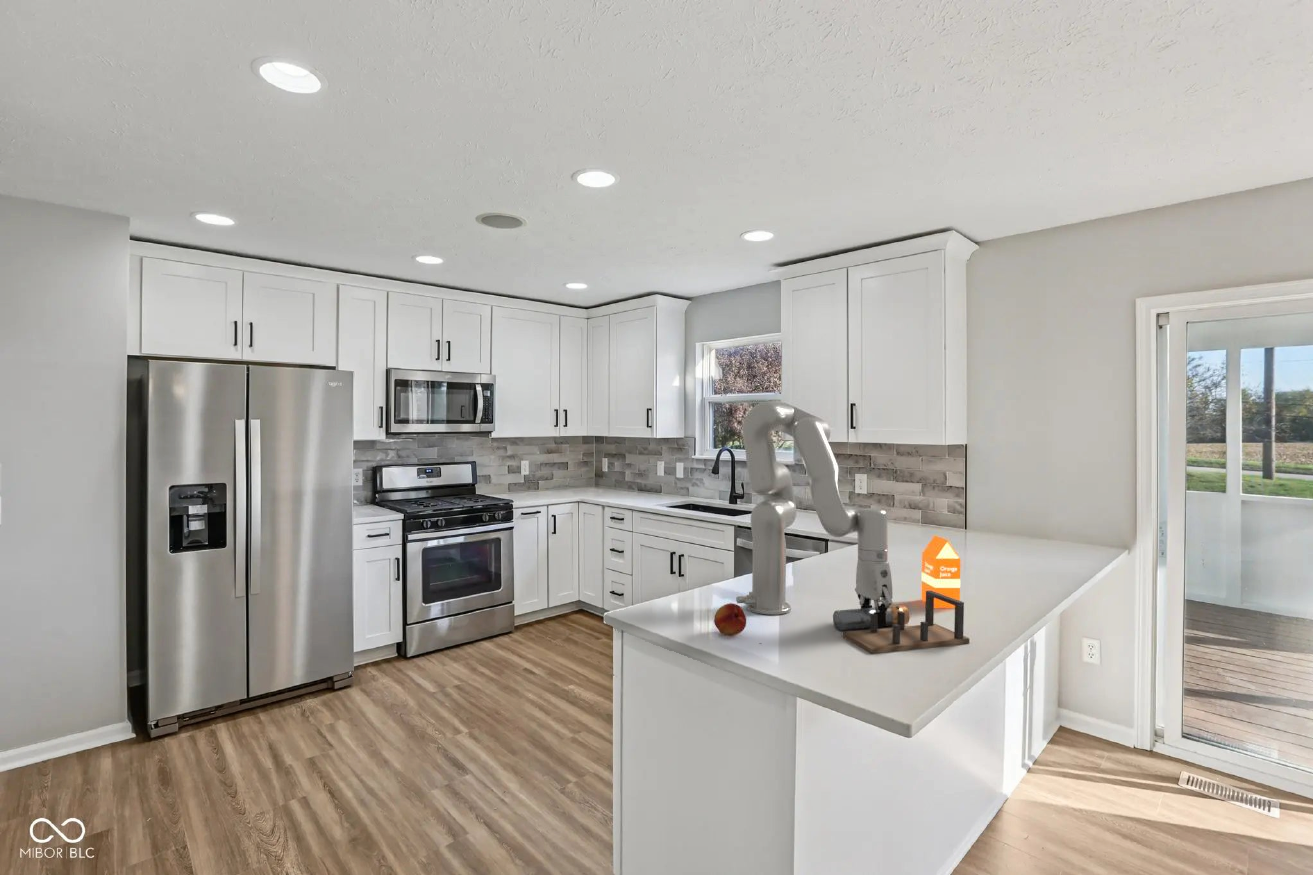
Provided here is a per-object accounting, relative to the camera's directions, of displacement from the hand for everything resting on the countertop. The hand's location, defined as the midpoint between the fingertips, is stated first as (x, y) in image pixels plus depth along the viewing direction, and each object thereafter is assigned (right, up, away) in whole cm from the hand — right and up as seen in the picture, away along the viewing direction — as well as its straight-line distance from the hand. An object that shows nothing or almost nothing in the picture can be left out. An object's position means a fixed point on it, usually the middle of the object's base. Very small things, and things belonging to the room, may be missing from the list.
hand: (873, 622), depth 168 cm
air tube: (-1, -1, +1) cm, 1 cm away
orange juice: (+28, -1, +23) cm, 36 cm away
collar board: (+4, -1, -10) cm, 11 cm away
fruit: (-39, -1, -8) cm, 40 cm away
